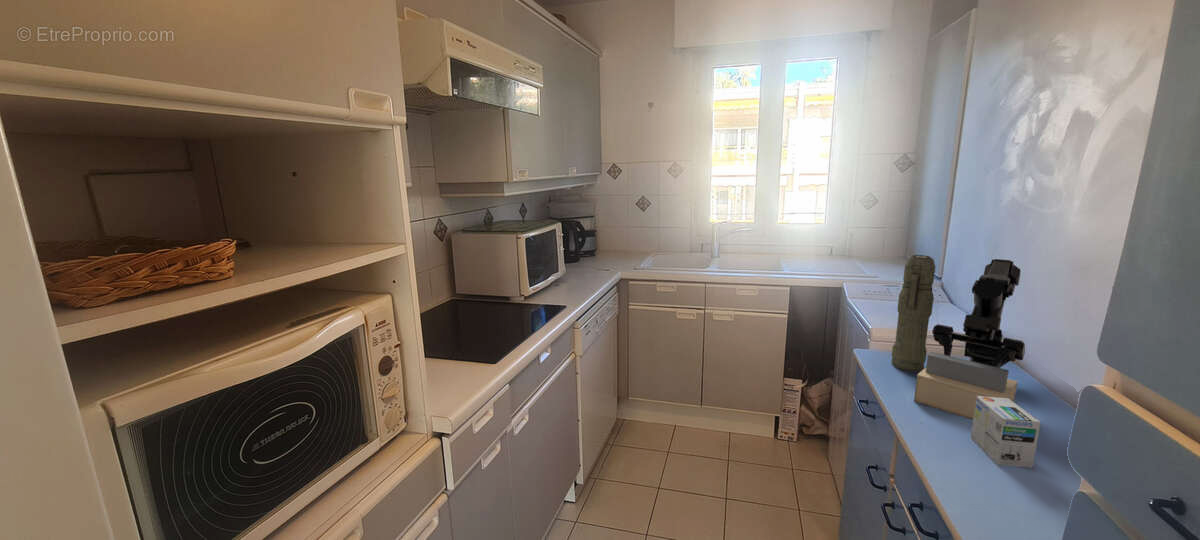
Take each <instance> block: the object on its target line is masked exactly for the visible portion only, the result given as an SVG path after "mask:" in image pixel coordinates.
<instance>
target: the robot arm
mask: <svg viewBox="0 0 1200 540" xmlns="http://www.w3.org/2000/svg"><path fill="white" fill-rule="evenodd" d="M1020 279H1021V269H1020V267H1018V266H1016V265H1015V264H1014V261H1012V260H1009V259H1002V258H1000V259H999V258H994V259H991V262H990V263H989V264H986V265H985V266H984V272H983V274H982V275H980V276H979V278H978V279H976V280H975V281H974V283H973V286H972V288H971V293H972V294H973V303H974V305H973V309H972V311H971V314H965V317H964V322H963V325H962V326H963V329H962V330H963V332H964V334H963V333H959V332H955V331H954V327H953V326H949V325H943V324H939V323H938V324H936V325H934V326H933V329H932V336H933V339H934V342H937V343H938V344H939V346H942V347H943V355H947V356H951V354H952V349H953V344H952V343H953V342H954V341H959V342H964V343H965V345H964V346H965V347H964V354H963V356H964V357H969V361H972V362H976V363H981V364H985V365H989V366H993V367H997V368H1002V367H1003V366H1004V365H1006V364H1008V363H1009V362H1016V360H1019V361H1023V360H1024V359H1025V358H1024V357H1025V353H1026V346H1025V345H1026V344H1025V343H1024V341H1023V340H1019V339H1015V338H1014V339H1013V338H1011V337H1010V338H1009V337H1003V335H1004V334H1002V333H1003V331H1002V330H1001V329H1000V328H1001V322H1002V315H1003V309H1004V306H1005V302H1006V300H1007V299H1008V298H1010V297H1012V296H1013V294H1014V292H1015V290H1016V286H1019V284H1020Z"/></svg>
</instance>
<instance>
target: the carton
mask: <svg viewBox="0 0 1200 540" xmlns="http://www.w3.org/2000/svg"><path fill="white" fill-rule="evenodd" d="M1018 382H1019V381H1018V380H1014V379H1011V378H1008V379H1007V384H1006V388H1007V389H1011V393H1010V394H1009V396H1008V398H1009V399H1010V400H1011V401H1013V402H1014V403H1015V397H1016V392H1017V387H1018ZM977 396H984V395H981V394H977V393H974V392H970V391H966V390H963V389H959V388H956V387H952V386H948V385H945V384H941V383H938V382H934V381H931V380H927V379H923V378H920V377H917V376H916V382H915V390H914V397H913V399H914V400H913V402H915V403H917V404H918V403H919V404H920V405H921V404H922V405H923V406H928V407H931V408H934V409H938V410H941V411H943V412H947V413H950V414H953V415H957V416H960V417H962V416H963V417H962V418H965V417H966V419H969V420H972V421H973V419H974V413H975V407H976V400H977ZM985 397H988V396H985Z"/></svg>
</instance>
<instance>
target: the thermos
mask: <svg viewBox="0 0 1200 540" xmlns="http://www.w3.org/2000/svg"><path fill="white" fill-rule="evenodd" d="M935 273H936V264H935V261H934V258H933V257H931V256H929V255H923V254H913V255H909V257H908V258H907V260H906V262H905V264H904V270H903V277H902V278H903V279H902V281H903V284H902V287H901V290H900V291H899V294H898V299H897V300H898V302H897V309H896V310H897V312H898V317H897V324H896V325H897V326H896V331H895V341H894V344H893V345H892V349H891V363H892V364H891V365H892V366H893V365H894V366H895V367H894V366H893V367H894V368H896V367H897V369H899V370H902V371H907V372H914V373H915V372H918V373H919V372H921V371H922V370H923V369H924V368H925V363H926V362H927V355H928V354H927V353H928V352H927V350H928V349H927V347H926V346H927V345H926V343H927V336H928V329H929V321H930V317H931V316H932V315H933V314H932V313H933V308H934V307H933V306H934V300H935V297H934V293H933V292H934V291H933V284H934V280H935Z"/></svg>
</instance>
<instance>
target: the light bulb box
mask: <svg viewBox="0 0 1200 540" xmlns="http://www.w3.org/2000/svg"><path fill="white" fill-rule="evenodd" d="M1041 423H1042V422H1041V421H1040V420H1039V419H1037V418H1036V417H1035V416H1033V415H1031V414H1030V413H1029V412H1027V411H1026V410H1025V409H1023V408H1022V407H1021V406H1019V405H1018V404H1017V403H1015V401H1014V402H1013V401H1011V400H1010V399H1009V398H996V397H985V396H977V400H976V407H975V413H974V419H973V420H972V427H971V432H970V439H971V440H972V441H974V443H975V444H977V446H978V447H979V448H981V450H982V451H983V452H984V453H985V454H986V455H988V457H989V459H991V460H992V461H993V462H994V463H995V464H996V465H997V466H1009V467H1021V468H1027V469H1028V468H1029V469H1032V468H1034V462H1035V461H1034V460H1035V458H1036V457H1035V456H1036V451H1037V450H1036V449H1037V445H1038V440H1039V435H1040V429H1041Z"/></svg>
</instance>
